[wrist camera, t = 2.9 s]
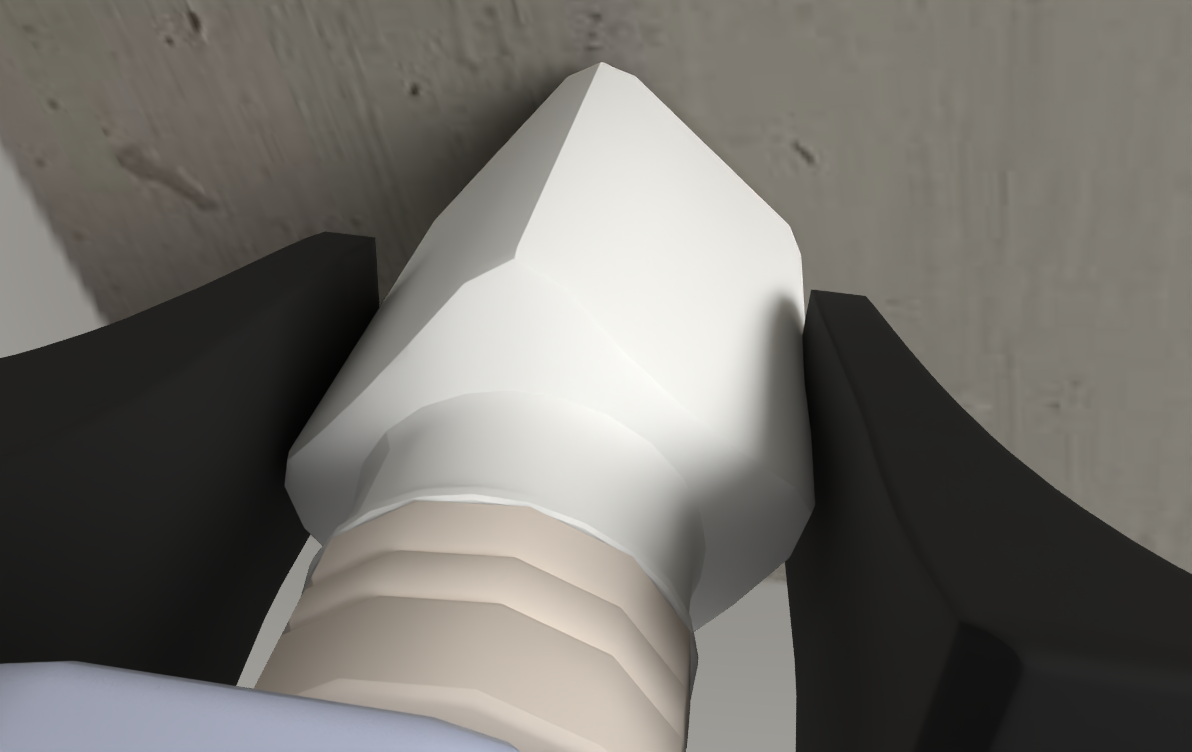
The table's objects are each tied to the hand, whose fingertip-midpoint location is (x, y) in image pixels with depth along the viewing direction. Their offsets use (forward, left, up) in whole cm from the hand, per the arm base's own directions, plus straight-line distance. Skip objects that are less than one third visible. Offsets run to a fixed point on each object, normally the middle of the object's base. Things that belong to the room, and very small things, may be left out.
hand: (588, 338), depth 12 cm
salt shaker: (0, 0, -3) cm, 3 cm away
